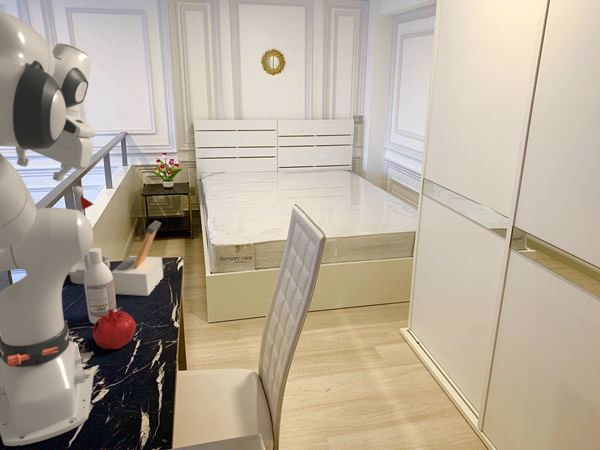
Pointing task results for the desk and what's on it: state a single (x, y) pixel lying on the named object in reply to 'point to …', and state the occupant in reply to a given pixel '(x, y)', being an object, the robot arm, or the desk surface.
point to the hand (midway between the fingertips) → (39, 172)
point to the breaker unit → (137, 276)
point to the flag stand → (82, 265)
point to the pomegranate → (114, 329)
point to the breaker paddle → (147, 242)
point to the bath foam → (98, 287)
